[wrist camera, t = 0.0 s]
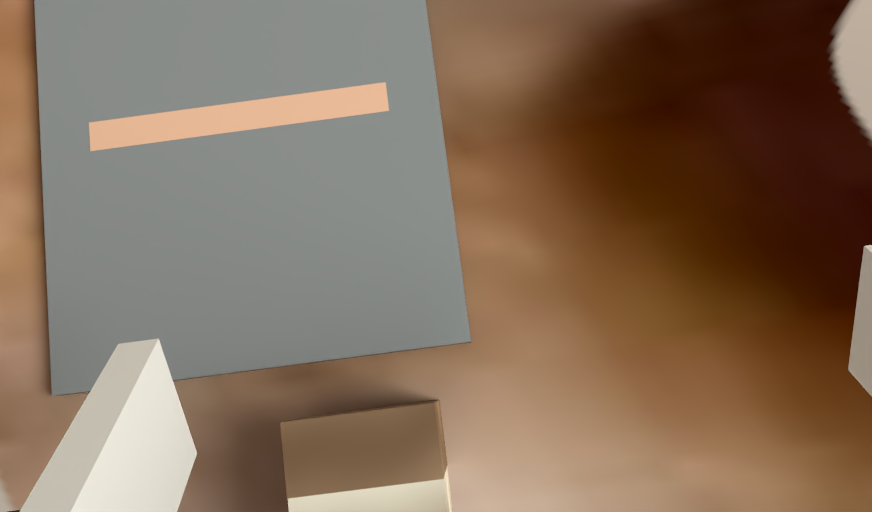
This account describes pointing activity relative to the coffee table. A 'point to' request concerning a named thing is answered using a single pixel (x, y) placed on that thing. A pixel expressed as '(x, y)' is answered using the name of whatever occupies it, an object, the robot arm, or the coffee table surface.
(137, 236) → the mat
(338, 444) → the cream block
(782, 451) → the coffee table surface
